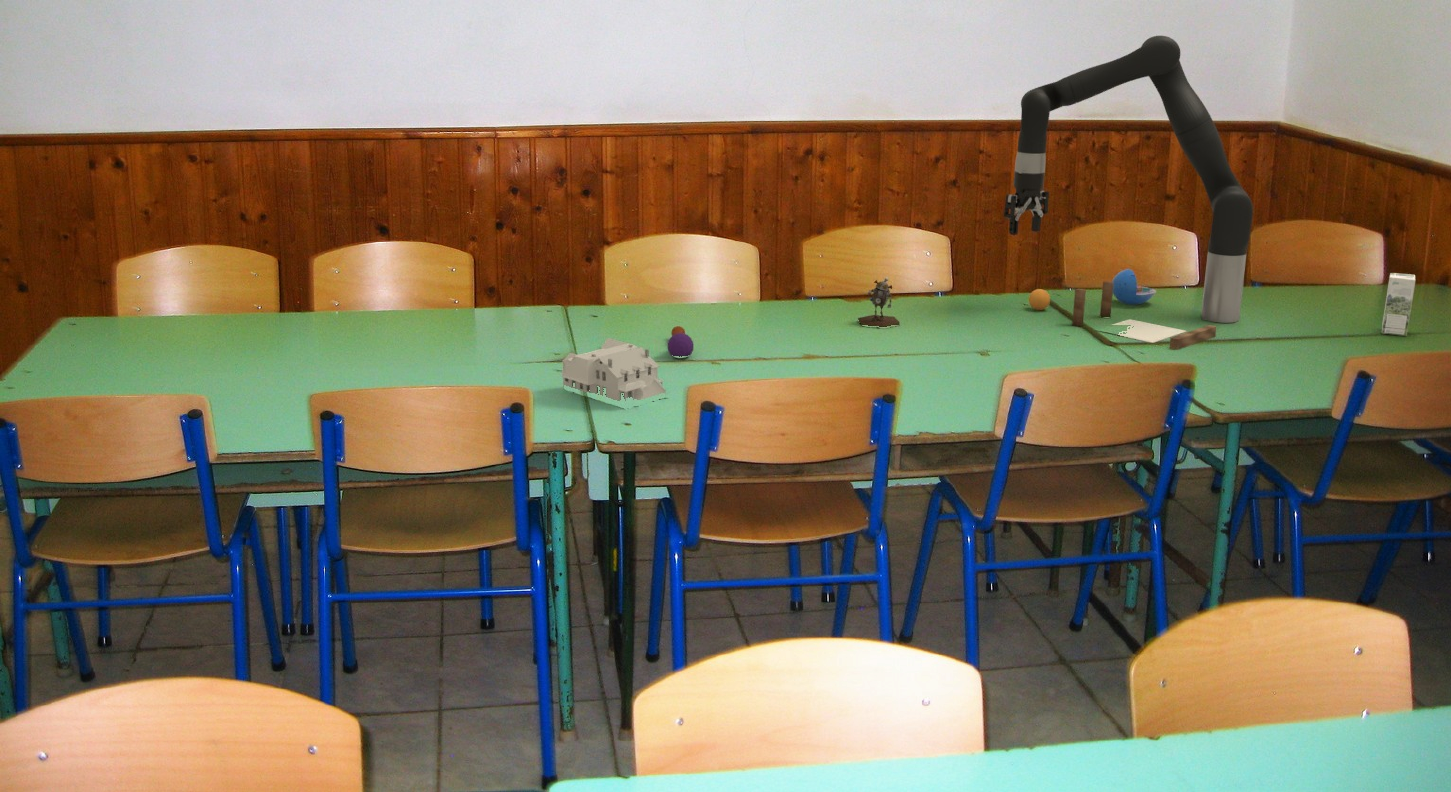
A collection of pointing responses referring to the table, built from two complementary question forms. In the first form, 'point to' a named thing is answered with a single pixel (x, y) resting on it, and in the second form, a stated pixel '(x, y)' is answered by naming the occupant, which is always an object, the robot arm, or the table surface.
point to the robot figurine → (880, 299)
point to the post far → (1106, 299)
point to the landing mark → (1148, 331)
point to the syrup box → (1398, 304)
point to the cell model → (1130, 289)
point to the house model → (614, 371)
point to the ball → (1039, 299)
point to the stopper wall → (1192, 337)
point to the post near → (1079, 307)
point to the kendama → (680, 343)
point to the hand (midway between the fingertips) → (1024, 232)
